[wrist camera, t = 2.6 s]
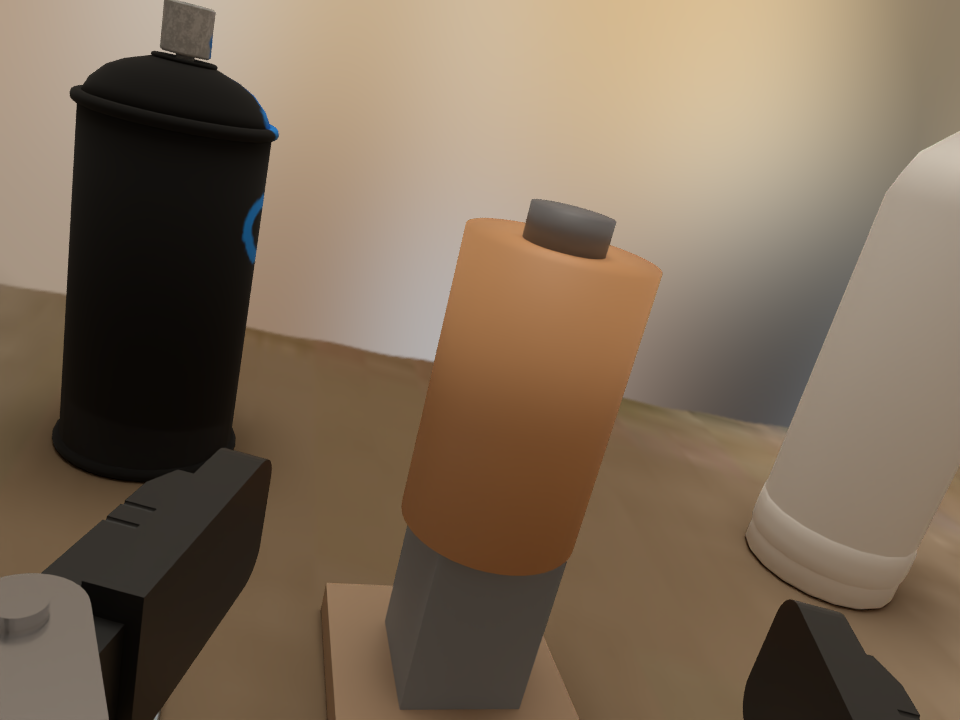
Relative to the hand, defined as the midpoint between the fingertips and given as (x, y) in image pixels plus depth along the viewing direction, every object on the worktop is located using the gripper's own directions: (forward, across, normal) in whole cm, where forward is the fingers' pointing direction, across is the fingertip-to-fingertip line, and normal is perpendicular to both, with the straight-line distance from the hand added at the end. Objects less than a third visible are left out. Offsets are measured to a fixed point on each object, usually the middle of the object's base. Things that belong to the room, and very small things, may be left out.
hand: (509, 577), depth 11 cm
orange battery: (+11, 0, +6) cm, 12 cm away
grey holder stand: (+11, 0, +13) cm, 17 cm away
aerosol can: (+22, +17, +13) cm, 31 cm away
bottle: (+28, -18, +13) cm, 35 cm away
